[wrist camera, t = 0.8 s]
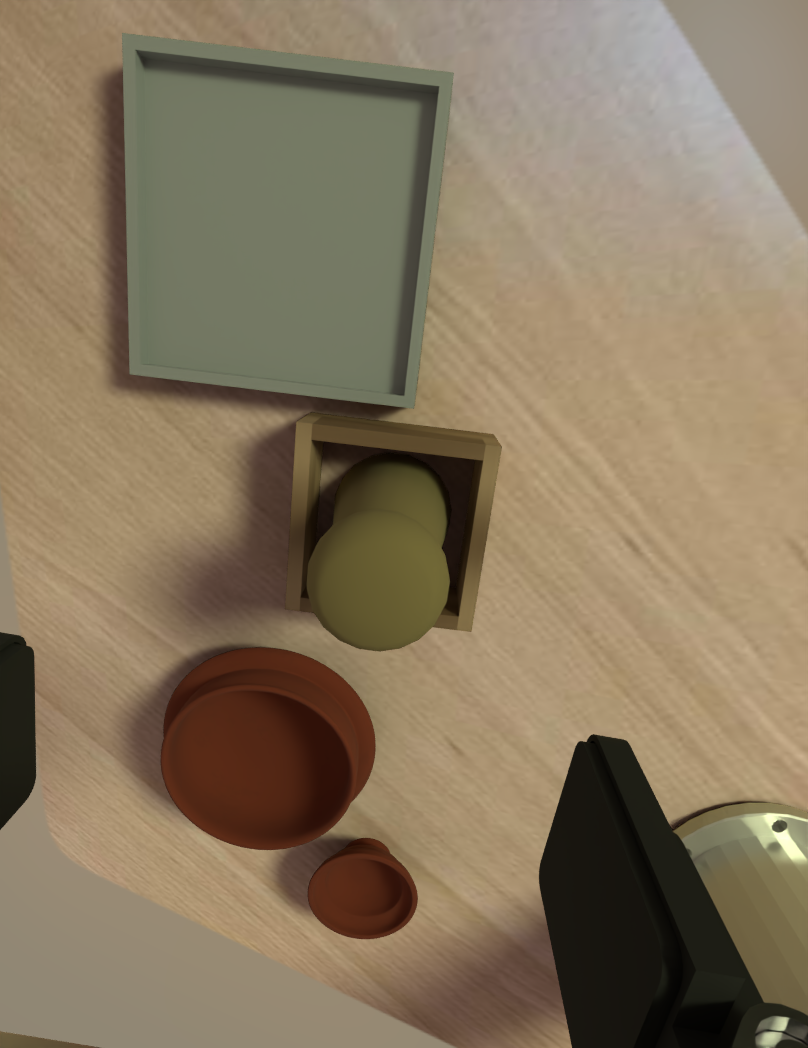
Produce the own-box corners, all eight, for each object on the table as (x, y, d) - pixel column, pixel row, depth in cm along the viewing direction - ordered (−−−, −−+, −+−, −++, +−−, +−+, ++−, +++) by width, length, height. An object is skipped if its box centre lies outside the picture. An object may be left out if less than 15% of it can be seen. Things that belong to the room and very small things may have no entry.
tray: (414, 404, 29) (413, 408, 27) (149, 372, 29) (129, 374, 27) (451, 92, 25) (453, 72, 23) (145, 56, 25) (122, 32, 23)
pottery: (314, 596, 33) (298, 634, 28) (473, 859, 38) (479, 925, 33) (138, 680, 35) (99, 728, 30) (312, 920, 39) (298, 989, 35)
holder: (466, 601, 32) (471, 631, 29) (299, 580, 32) (284, 609, 29) (493, 434, 29) (502, 446, 26) (311, 412, 29) (296, 421, 26)
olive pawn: (321, 547, 32) (268, 652, 21) (350, 437, 30) (308, 491, 19) (431, 578, 32) (433, 697, 21) (466, 471, 30) (488, 543, 20)
